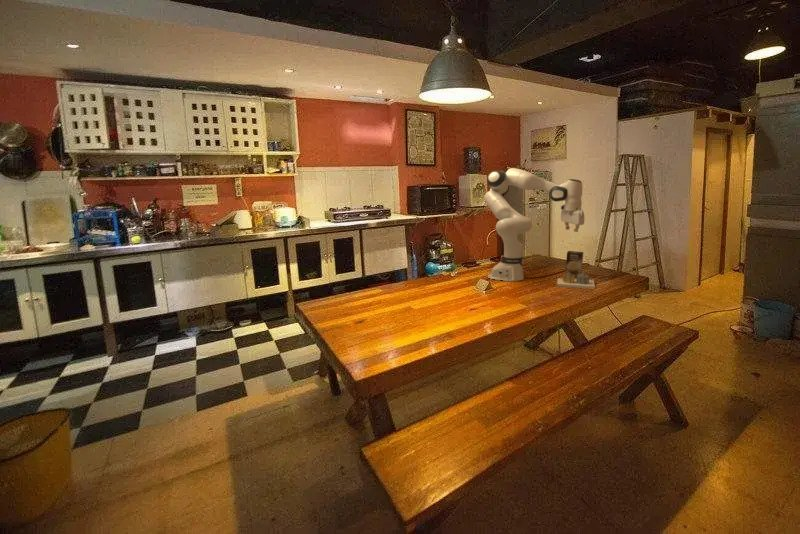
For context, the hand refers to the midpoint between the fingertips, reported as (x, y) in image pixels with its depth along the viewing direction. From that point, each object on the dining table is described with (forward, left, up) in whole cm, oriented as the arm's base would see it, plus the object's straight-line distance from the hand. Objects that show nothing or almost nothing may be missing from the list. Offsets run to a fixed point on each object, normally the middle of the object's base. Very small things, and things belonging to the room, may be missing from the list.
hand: (571, 230), depth 236 cm
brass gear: (0, -8, -30) cm, 31 cm away
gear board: (+4, -8, -31) cm, 32 cm away
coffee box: (+3, +10, -31) cm, 33 cm away
